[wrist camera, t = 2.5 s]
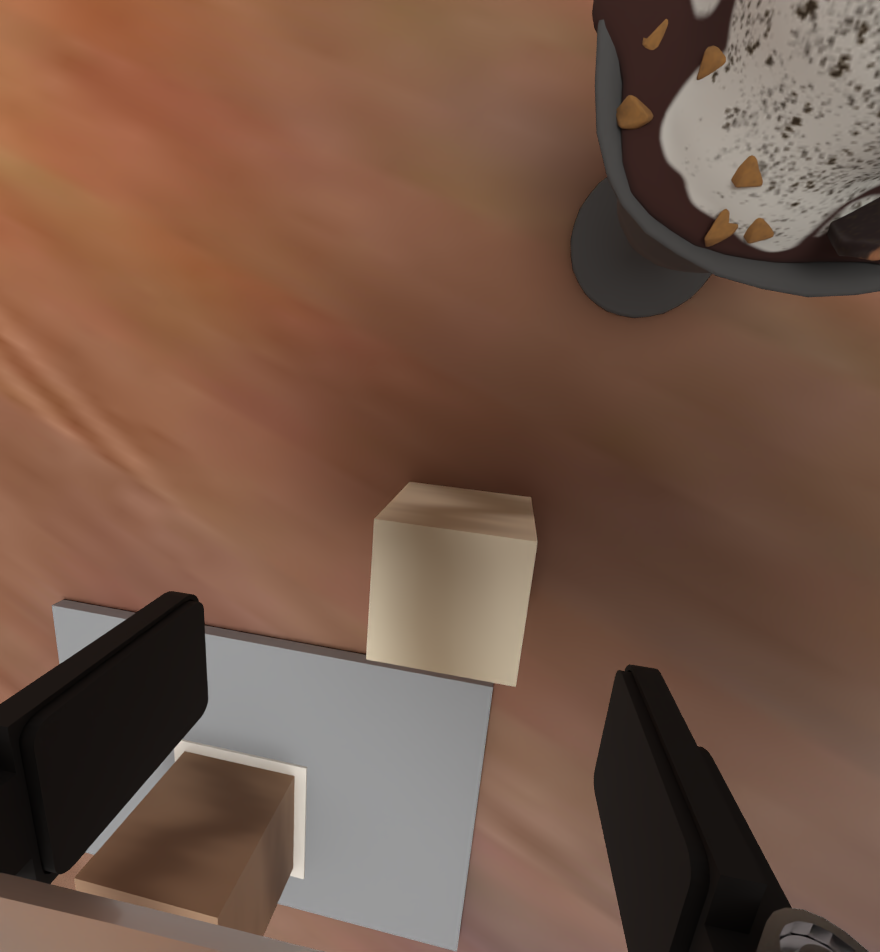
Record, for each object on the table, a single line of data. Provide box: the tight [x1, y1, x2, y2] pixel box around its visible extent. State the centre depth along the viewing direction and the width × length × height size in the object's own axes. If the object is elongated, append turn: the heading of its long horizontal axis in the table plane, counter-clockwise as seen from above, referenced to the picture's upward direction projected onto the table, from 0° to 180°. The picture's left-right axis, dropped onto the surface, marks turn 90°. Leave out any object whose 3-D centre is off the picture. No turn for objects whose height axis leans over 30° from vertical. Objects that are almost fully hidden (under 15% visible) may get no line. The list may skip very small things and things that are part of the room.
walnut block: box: [74, 751, 295, 936], centre depth 20 cm, size 6×6×6 cm
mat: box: [52, 600, 493, 951], centre depth 23 cm, size 22×16×1 cm
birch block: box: [366, 482, 538, 687], centre depth 17 cm, size 5×5×5 cm
